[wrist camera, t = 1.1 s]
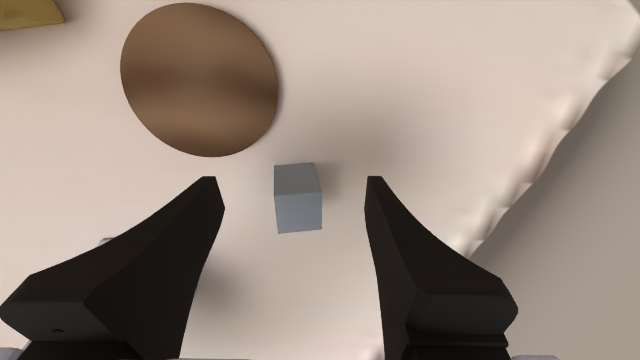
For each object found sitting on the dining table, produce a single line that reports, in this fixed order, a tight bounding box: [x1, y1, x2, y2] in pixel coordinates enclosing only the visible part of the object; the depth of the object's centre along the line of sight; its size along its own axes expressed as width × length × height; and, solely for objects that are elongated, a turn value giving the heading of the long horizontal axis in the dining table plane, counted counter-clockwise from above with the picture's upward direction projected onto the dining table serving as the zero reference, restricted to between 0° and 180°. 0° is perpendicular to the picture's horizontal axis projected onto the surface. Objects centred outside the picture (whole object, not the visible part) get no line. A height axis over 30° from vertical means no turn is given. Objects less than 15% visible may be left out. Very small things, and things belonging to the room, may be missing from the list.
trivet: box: [120, 3, 277, 157], centre depth 23 cm, size 12×12×2 cm
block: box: [274, 163, 322, 234], centre depth 27 cm, size 4×4×6 cm
